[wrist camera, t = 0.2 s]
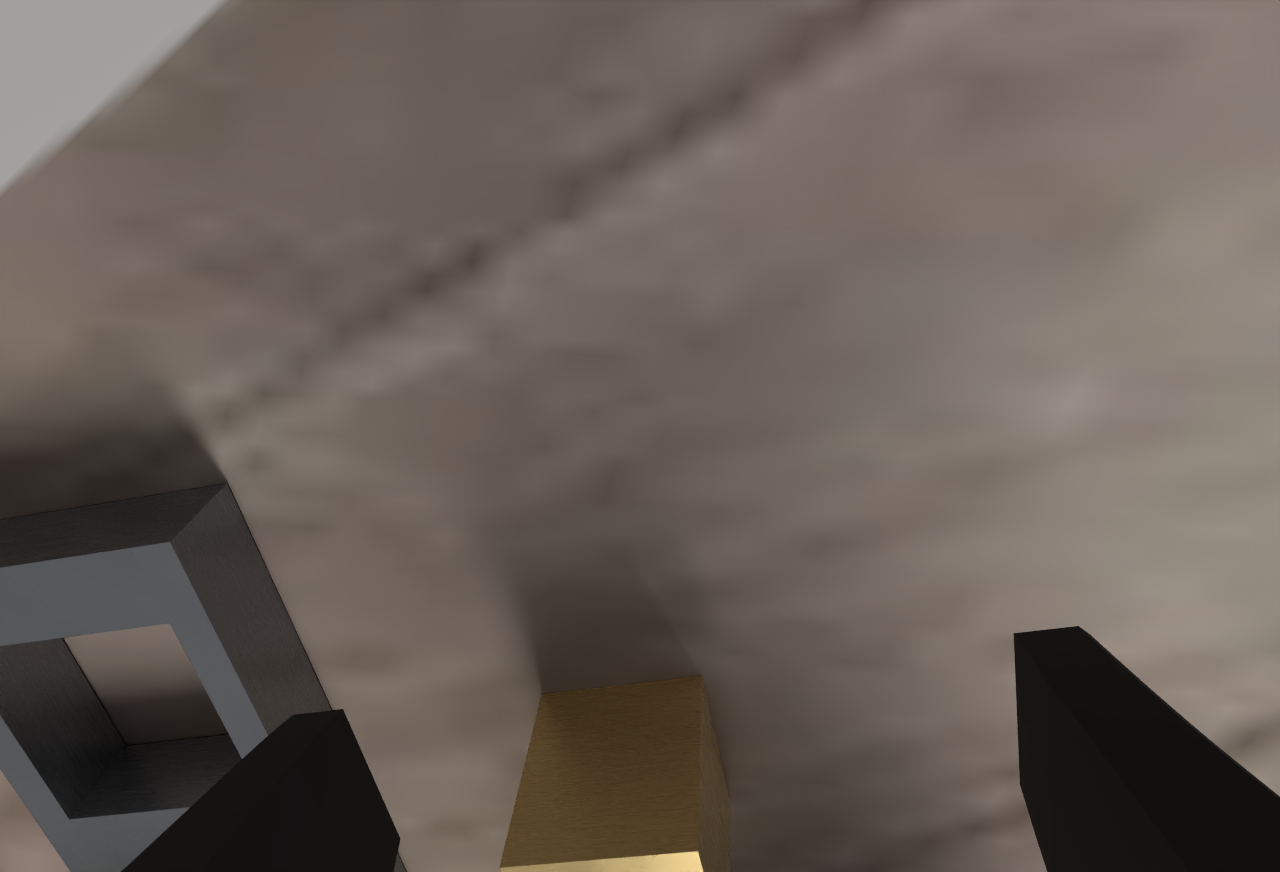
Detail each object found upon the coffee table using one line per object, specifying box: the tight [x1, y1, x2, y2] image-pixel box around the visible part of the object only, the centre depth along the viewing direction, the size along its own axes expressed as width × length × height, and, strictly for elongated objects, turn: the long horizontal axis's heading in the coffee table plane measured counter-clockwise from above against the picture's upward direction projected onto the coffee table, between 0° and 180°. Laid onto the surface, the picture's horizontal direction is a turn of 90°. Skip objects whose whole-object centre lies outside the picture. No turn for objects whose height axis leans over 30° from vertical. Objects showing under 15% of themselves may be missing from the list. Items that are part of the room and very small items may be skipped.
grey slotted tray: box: [0, 484, 406, 872], centre depth 23 cm, size 17×7×2 cm, turn 12°
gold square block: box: [499, 676, 730, 872], centre depth 21 cm, size 4×4×5 cm
